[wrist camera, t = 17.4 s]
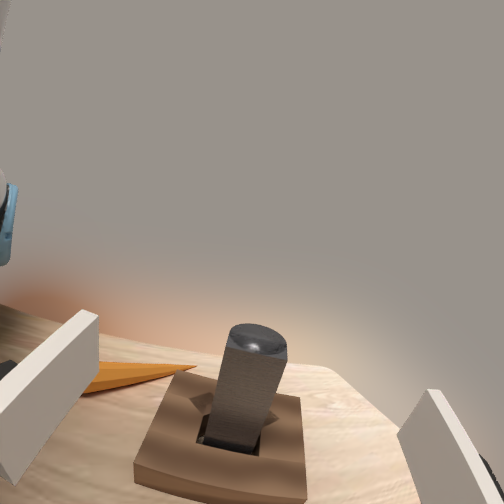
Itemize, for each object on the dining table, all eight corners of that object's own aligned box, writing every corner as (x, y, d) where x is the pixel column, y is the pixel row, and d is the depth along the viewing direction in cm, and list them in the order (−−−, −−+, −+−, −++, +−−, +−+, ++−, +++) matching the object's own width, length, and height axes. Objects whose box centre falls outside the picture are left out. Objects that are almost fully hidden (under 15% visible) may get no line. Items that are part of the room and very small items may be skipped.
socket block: (293, 515, 23) (307, 499, 22) (134, 482, 23) (133, 462, 22) (290, 418, 38) (299, 397, 37) (174, 391, 38) (177, 369, 37)
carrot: (70, 400, 31) (73, 386, 29) (63, 370, 34) (66, 353, 32) (197, 385, 45) (210, 370, 43) (186, 360, 48) (198, 345, 46)
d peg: (244, 470, 28) (287, 360, 24) (198, 461, 28) (225, 346, 24) (247, 440, 33) (285, 330, 29) (206, 430, 33) (233, 318, 29)
